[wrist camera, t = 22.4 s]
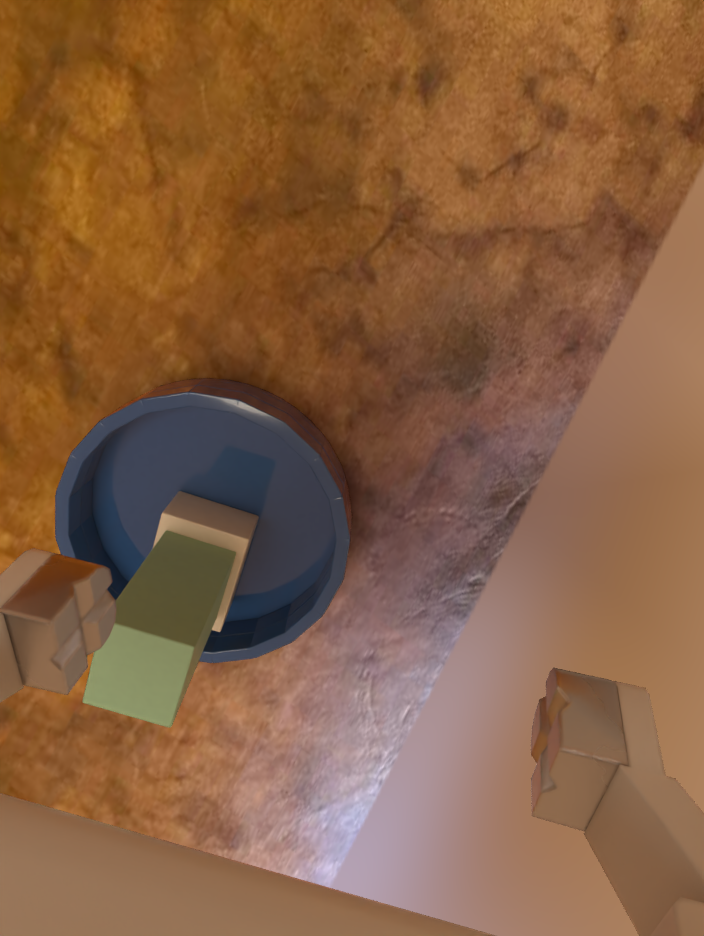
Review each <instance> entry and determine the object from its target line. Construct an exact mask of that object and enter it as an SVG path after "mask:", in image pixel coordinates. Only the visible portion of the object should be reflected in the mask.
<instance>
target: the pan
mask: <svg viewBox="0 0 704 936" xmlns="http://www.w3.org/2000/svg"><path fill="white" fill-rule="evenodd" d="M179 491H182V492H185V493H188V494H191V495H194V496H197V497H200V498H204V499H207V500H210V501H213V502H216V503H219V504H223V505H226V506H229V507H232V508H235V509H238V510H241V511H245V512H248V513H251V514H254V515H257V516H258V517H259V518H258V521H257V525H256V528H255V531H254V534H253V537H252V541H251V544H250V547H249V550H248V553H247V557H246V560H245V563H244V566H243V569H242V572H241V576H240V579H239V582H238V585H237V588H236V592H235V595H234V598H233V601H232V604H231V607H230V609H229V612H228V614H227V617H226V619H225V622H224V624H223V627H222V630H221V631H220V632H217V631H214V630H211V633H210V635H209V637H208V640H207V642H206V645H205V647H204V649H203V652H202V654H201V657H200V659H199V661H200V662H207V663H212V662H213V663H220V662H228V661H237V660H245V659H253V658H257V657H259V656H262V655H264V654H266V653H269V652H271V651H273V650H276V649H278V648H280V647H283V646H285V645H287V644H290V643H292V641H294V640H296V639H297V638H298V637H299V636H300V635H301V634H302V633H304V632H305V631H306V630H307V629H308V628H309V627H310V626H312V625H313V624H314V623H315V622H316V621H317V620H318V619H320V618H321V617H322V616H323V614H324V613H325V612H326V610H327V608H328V606H329V605H330V603H331V601H332V599H333V598H334V596H335V594H336V592H337V591H338V589H339V587H340V585H341V584H342V582H343V579H344V575H345V569H346V563H347V557H348V551H349V545H350V539H351V526H352V511H351V504H350V495H349V490H348V484H347V480H346V477H345V475H344V472H343V469H342V466H341V464H340V462H339V460H338V458H337V456H336V454H335V452H334V450H333V448H332V447H331V445H330V444H329V442H328V441H327V439H326V438H325V436H324V435H323V434H322V433H321V432H320V431H319V429H318V428H317V427H316V426H315V425H314V424H313V423H312V422H311V421H310V420H309V419H308V418H307V417H306V416H305V415H303V414H302V413H301V412H300V411H299V410H298V409H296V408H295V407H293V406H292V405H290V404H289V403H287V402H286V401H285V400H283V399H281V398H279V397H277V396H275V395H273V394H271V393H269V392H268V391H265V390H263V389H260V388H257V387H254V386H252V385H249V384H245V383H241V382H236V381H232V380H224V379H214V378H204V379H189V380H183V381H177V382H173V383H169V384H166V385H161V386H159V387H156V388H154V389H153V390H151V391H148V392H146V393H144V394H142V395H140V396H139V397H137V398H136V399H134V400H132V401H130V402H128V403H126V404H124V405H122V406H121V407H119V408H118V409H116V410H115V411H113V412H112V413H110V414H109V415H107V416H106V417H104V418H103V419H101V420H100V421H99V422H98V423H97V424H96V425H95V426H94V427H93V429H92V430H91V431H90V432H89V433H88V434H87V435H86V436H85V438H84V439H83V440H82V441H81V442H80V443H79V444H78V445H77V447H76V448H75V449H74V450H73V451H72V452H71V454H70V456H69V459H68V461H67V464H66V466H65V469H64V472H63V474H62V477H61V480H60V482H59V485H58V488H57V490H56V495H55V535H56V536H55V538H56V541H57V544H58V547H59V550H60V553H61V555H64V556H68V557H72V558H76V559H80V560H84V561H88V562H91V563H95V564H99V565H103V566H106V567H108V568H110V571H111V576H112V581H113V582H112V583H111V585H110V586H109V587H108V589H107V590H108V591H109V593H110V594H111V595H112V596H113V597H114V599H115V601H116V600H117V598H118V597H119V595H120V594H121V593H122V591H123V590H124V588H125V587H126V586H127V584H128V583H129V581H130V580H131V578H132V577H133V576H134V574H135V573H136V571H137V570H138V569H139V567H140V566H141V564H142V563H143V562H144V560H145V559H146V557H147V556H148V555H149V553H150V552H151V550H152V549H153V545H154V541H155V538H156V534H157V530H158V526H159V522H160V518H161V514H162V512H163V511H164V510H165V509H166V507H167V506H168V505H169V503H170V502H171V501H172V499H173V498H174V497H175V496H176V494H177V493H178V492H179Z"/></svg>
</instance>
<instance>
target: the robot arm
mask: <svg viewBox="0 0 704 936" xmlns="http://www.w3.org/2000/svg"><path fill="white" fill-rule="evenodd" d="M112 582H113V581H112V576H111V571H110V568H108V567H106V566H103V565H99V564H95V563H91V562H88V561H84V560H80V559H76V558H72V557H68V556H64V555H60V554H55V553H51V552H47V551H43V550H39V549H35V548H33V549H30V550H27V551H25V552H24V553H22V554H21V555H20V556H19V557H18V558H17V559H16V560H15V561H14V562H13V563H12V564H11V565H10V566H9V567H8V568H7V569H6V570H5V571H4V572H3V573H2V574H1V575H0V702H2V701H3V700H5V699H6V698H8V697H10V696H11V695H13V694H14V693H16V692H18V691H19V690H21V689H23V687H24V686H23V685H25V686H30V687H34V688H38V689H43V690H47V691H51V692H56V693H60V694H65V695H67V694H68V693H69V692H70V690H71V689H72V688H73V686H74V685H75V684H76V682H77V681H78V679H79V678H80V677H81V675H82V674H83V673H84V671H85V670H86V669H87V667H88V664H87V655H89V654H91V653H93V652H95V651H97V650H99V649H101V648H102V646H103V645H104V643H105V642H106V641H107V639H108V638H109V636H110V634H111V631H112V628H113V626H114V623H115V619H116V610H117V609H116V601H115V599H114V597H113V596H112V595H111V594H110V593H109V591H108V590H107V589H108V587H109V586H110V585H111V583H112ZM531 755H532V756H533V758H534V760H535V761H536V763H537V765H536V768H535V770H534V773H533V776H532V779H531V787H532V788H531V790H532V816H533V817H537V818H540V819H543V820H547V821H550V822H554V823H557V824H561V825H564V826H568V827H571V828H575V829H578V830H582V831H585V833H584V835H585V837H586V839H587V840H588V842H589V844H590V846H591V848H592V850H593V852H594V853H595V855H596V857H597V859H598V861H599V862H600V864H601V866H602V868H603V870H604V872H605V874H606V875H607V877H608V879H609V881H610V883H611V885H612V886H613V888H614V890H615V892H616V894H617V896H618V898H619V899H620V901H621V903H622V905H623V907H624V908H625V910H626V912H627V914H628V916H629V918H630V920H631V921H632V923H633V925H634V927H635V929H636V931H637V932H638V934H639V936H704V813H703V812H702V810H701V809H700V808H699V807H698V806H697V804H696V803H695V802H694V801H693V799H692V798H691V797H690V796H689V795H688V793H687V792H686V791H685V790H684V789H683V787H682V786H681V785H680V783H679V782H678V781H677V780H676V779H675V778H672V777H668V776H666V775H665V770H664V765H663V760H662V755H661V750H660V745H659V740H658V735H657V730H656V725H655V721H654V715H653V711H652V706H651V701H650V696H649V693H648V691H647V690H646V688H643V687H639V686H635V685H630V684H625V683H621V682H616V681H611V680H608V679H603V678H598V677H594V676H589V675H585V674H580V673H576V672H570V671H566V670H562V669H557V668H553V669H552V670H551V671H550V673H549V676H548V678H547V681H546V696H545V697H543V698H542V699H540V700H539V703H538V706H537V709H536V712H535V717H534V722H533V726H532V737H531ZM0 936H495V935H492V934H488V933H485V932H481V931H478V930H474V929H471V928H467V927H464V926H460V925H457V924H454V923H450V922H447V921H443V920H440V919H436V918H433V917H429V916H426V915H422V914H419V913H415V912H411V911H408V910H405V909H401V908H398V907H394V906H391V905H388V904H384V903H380V902H377V901H374V900H370V899H367V898H363V897H360V896H356V895H353V894H349V893H346V892H342V891H339V890H335V889H332V888H328V887H325V886H322V885H318V884H315V883H311V882H308V881H304V880H301V879H297V878H294V877H290V876H287V875H283V874H280V873H276V872H273V871H269V870H266V869H262V868H259V867H256V866H252V865H249V864H245V863H242V862H238V861H235V860H231V859H228V858H224V857H221V856H217V855H214V854H210V853H207V852H203V851H200V850H196V849H193V848H189V847H186V846H182V845H179V844H175V843H172V842H168V841H165V840H161V839H158V838H154V837H151V836H147V835H144V834H140V833H137V832H133V831H130V830H126V829H123V828H119V827H116V826H112V825H109V824H106V823H102V822H99V821H95V820H92V819H88V818H85V817H81V816H78V815H74V814H71V813H67V812H64V811H60V810H57V809H53V808H50V807H46V806H43V805H40V804H36V803H33V802H29V801H26V800H22V799H19V798H15V797H12V796H8V795H5V794H1V793H0Z"/></svg>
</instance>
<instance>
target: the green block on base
mask: <svg viewBox="0 0 704 936" xmlns="http://www.w3.org/2000/svg"><path fill="white" fill-rule="evenodd" d="M258 518H259V517H258V516H257V515H254V514H251V513H248V512H245V511H241V510H238V509H235V508H232V507H229V506H226V505H223V504H219V503H216V502H213V501H210V500H207V499H204V498H200V497H197V496H194V495H191V494H188V493H185V492H182V491H179V492H178V493H177V494H176V496H175V497H174V498H173V499H172V501H171V502H170V503H169V505H168V506H167V507H166V509H165V510H164V511H163V512H162V514H161V518H160V522H159V526H158V530H157V534H156V538H155V541H154V545H153V549H152V550H151V552H150V553H149V555H148V556H147V557H146V559H145V560H144V562H143V563H142V564H141V566H140V567H139V569H138V570H137V571H136V573H135V574H134V576H133V577H132V578H131V580H130V581H129V583H128V584H127V586H126V587H125V588H124V590H123V591H122V593H121V594H120V595H119V597H118V598H117V600H116V609H117V610H116V619H115V623H114V626H113V628H112V631H111V634H110V636H109V638H108V639H107V641H106V642H105V643H104V645H103V646H102V648H101V649H99V650H97V651H95V652H94V655H93V659H92V663H91V667H90V672H89V676H88V680H87V684H86V688H85V693H84V697H83V703H86V704H89V705H93V706H96V707H100V708H103V709H107V710H110V711H113V712H117V713H120V714H124V715H127V716H131V717H134V718H138V719H141V720H145V721H148V722H152V723H155V724H158V725H162V726H165V727H171V726H172V724H173V722H174V719H175V717H176V715H177V712H178V710H179V707H180V705H181V703H182V700H183V698H184V695H185V693H186V690H187V688H188V686H189V683H190V681H191V678H192V676H193V674H194V671H195V669H196V666H197V664H198V662H199V659H200V657H201V654H202V652H203V649H204V647H205V645H206V642H207V640H208V637H209V635H210V633H211V630H214V631H217V632H220V631H221V630H222V627H223V624H224V622H225V619H226V617H227V614H228V612H229V609H230V607H231V604H232V601H233V598H234V595H235V592H236V588H237V585H238V582H239V579H240V576H241V572H242V569H243V566H244V563H245V560H246V557H247V553H248V550H249V547H250V544H251V541H252V537H253V534H254V531H255V528H256V525H257V521H258Z"/></svg>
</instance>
